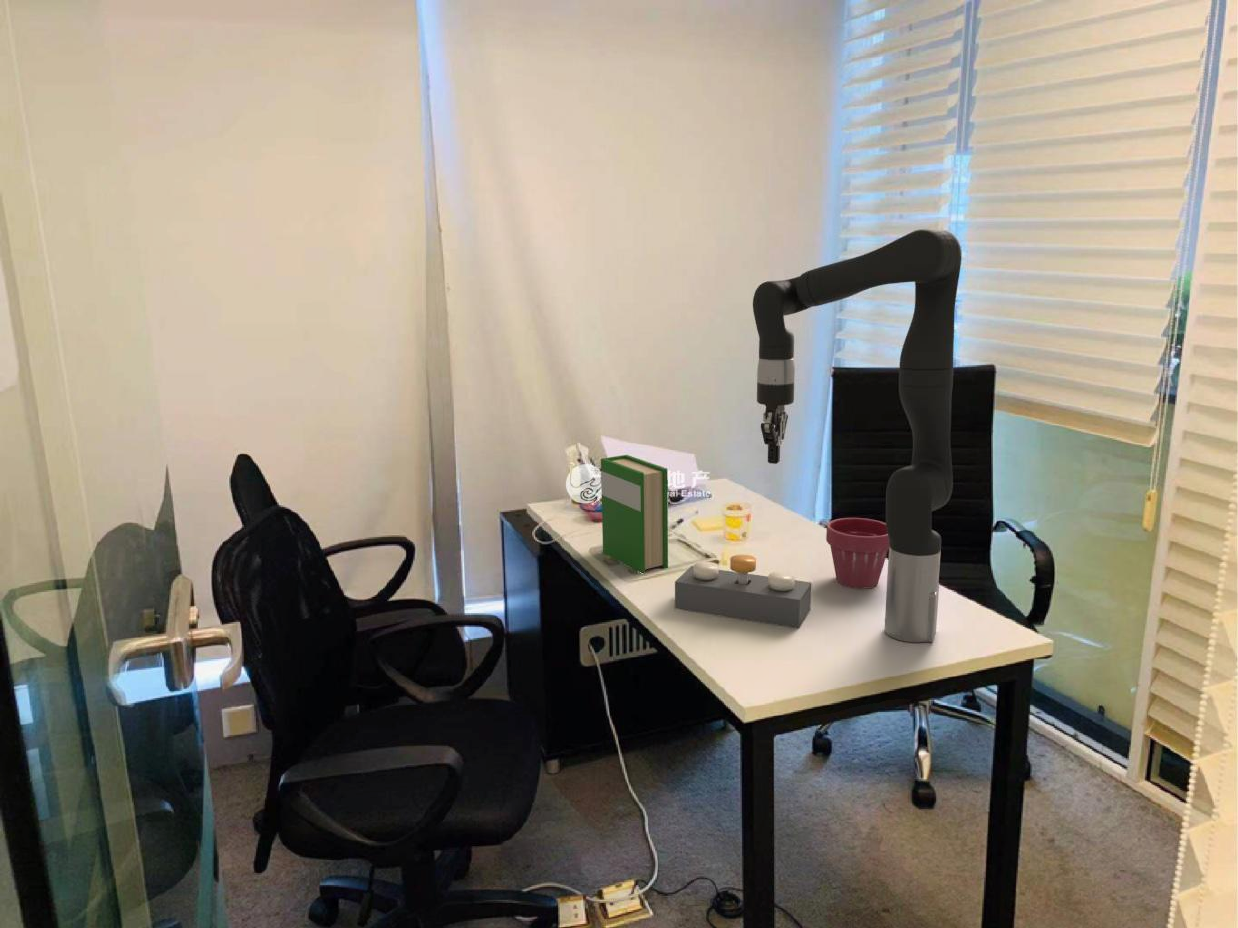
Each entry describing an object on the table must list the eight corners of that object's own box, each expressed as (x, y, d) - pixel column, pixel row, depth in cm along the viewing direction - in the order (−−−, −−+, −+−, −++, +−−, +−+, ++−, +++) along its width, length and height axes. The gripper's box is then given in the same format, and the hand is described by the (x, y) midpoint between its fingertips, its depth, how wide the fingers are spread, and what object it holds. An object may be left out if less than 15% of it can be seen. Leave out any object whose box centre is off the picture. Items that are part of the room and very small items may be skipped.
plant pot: (897, 576, 198) (900, 522, 195) (881, 597, 187) (884, 540, 184) (835, 566, 205) (837, 513, 202) (816, 585, 194) (818, 530, 191)
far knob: (721, 594, 186) (721, 563, 184) (713, 603, 181) (713, 571, 180) (698, 591, 188) (698, 560, 186) (689, 600, 183) (689, 568, 182)
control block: (810, 609, 181) (811, 582, 179) (798, 628, 172) (799, 599, 171) (691, 591, 191) (691, 565, 190) (675, 608, 183) (674, 581, 181)
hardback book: (668, 567, 207) (667, 468, 201) (641, 574, 203) (640, 473, 197) (628, 547, 221) (626, 454, 216) (602, 552, 217) (600, 458, 212)
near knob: (796, 606, 179) (797, 573, 178) (790, 615, 175) (791, 582, 173) (771, 602, 181) (772, 570, 180) (764, 611, 177) (765, 579, 175)
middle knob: (758, 588, 182) (759, 556, 180) (751, 597, 177) (751, 564, 176) (734, 585, 184) (734, 553, 182) (726, 593, 180) (726, 561, 178)
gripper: (785, 385, 172) (783, 471, 176) (801, 376, 184) (799, 457, 188) (748, 384, 175) (747, 468, 179) (766, 375, 187) (764, 454, 191)
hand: (773, 462), depth 183 cm, fingers closed
